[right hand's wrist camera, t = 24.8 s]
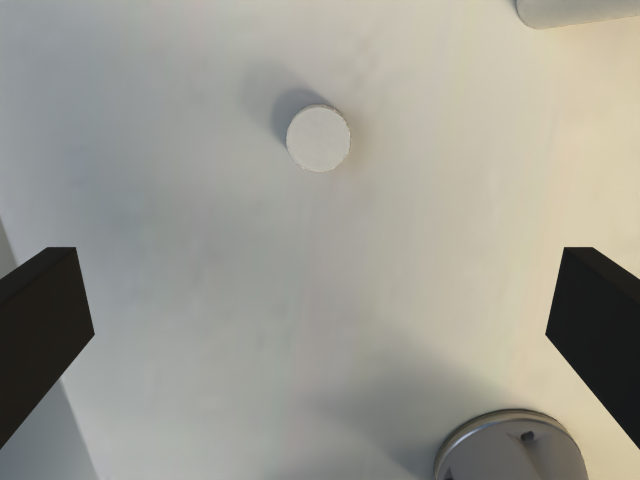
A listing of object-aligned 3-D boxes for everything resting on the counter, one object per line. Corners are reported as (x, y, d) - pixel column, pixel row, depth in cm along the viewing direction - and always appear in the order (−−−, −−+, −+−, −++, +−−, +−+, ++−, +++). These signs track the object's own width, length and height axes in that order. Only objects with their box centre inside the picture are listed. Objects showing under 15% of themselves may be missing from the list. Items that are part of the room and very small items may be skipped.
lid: (297, 94, 35) (296, 97, 33) (358, 115, 36) (360, 119, 33) (280, 155, 37) (277, 161, 35) (338, 173, 37) (339, 181, 35)
